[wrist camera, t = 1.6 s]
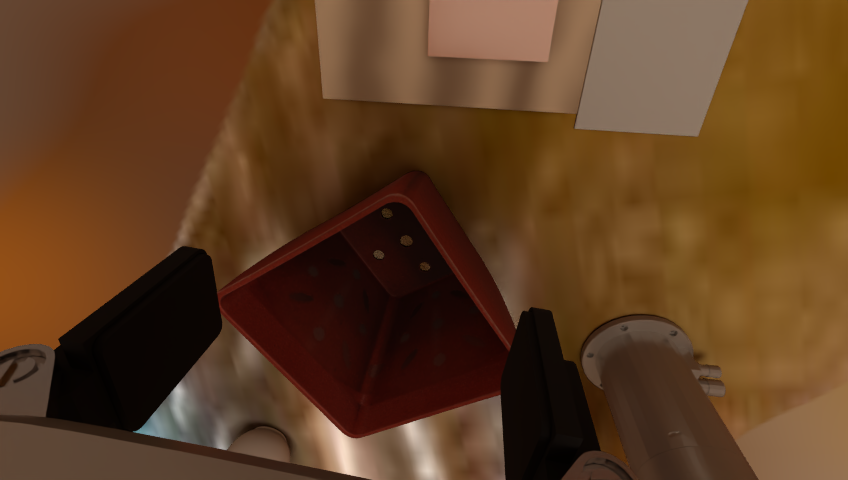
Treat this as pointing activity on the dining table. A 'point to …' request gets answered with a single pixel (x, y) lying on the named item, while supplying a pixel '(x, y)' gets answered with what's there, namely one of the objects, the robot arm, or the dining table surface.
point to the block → (491, 29)
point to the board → (445, 59)
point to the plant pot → (378, 312)
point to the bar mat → (656, 64)
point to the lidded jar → (262, 444)
